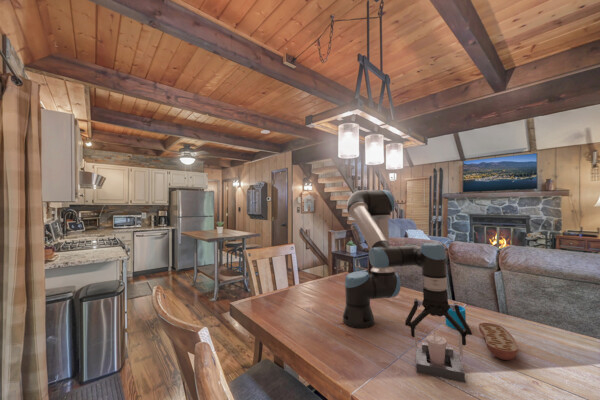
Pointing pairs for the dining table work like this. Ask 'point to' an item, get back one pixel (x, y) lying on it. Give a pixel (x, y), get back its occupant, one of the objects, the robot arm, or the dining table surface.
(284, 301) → the dining table surface
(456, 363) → the jig
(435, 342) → the smoothie
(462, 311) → the mug
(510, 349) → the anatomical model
